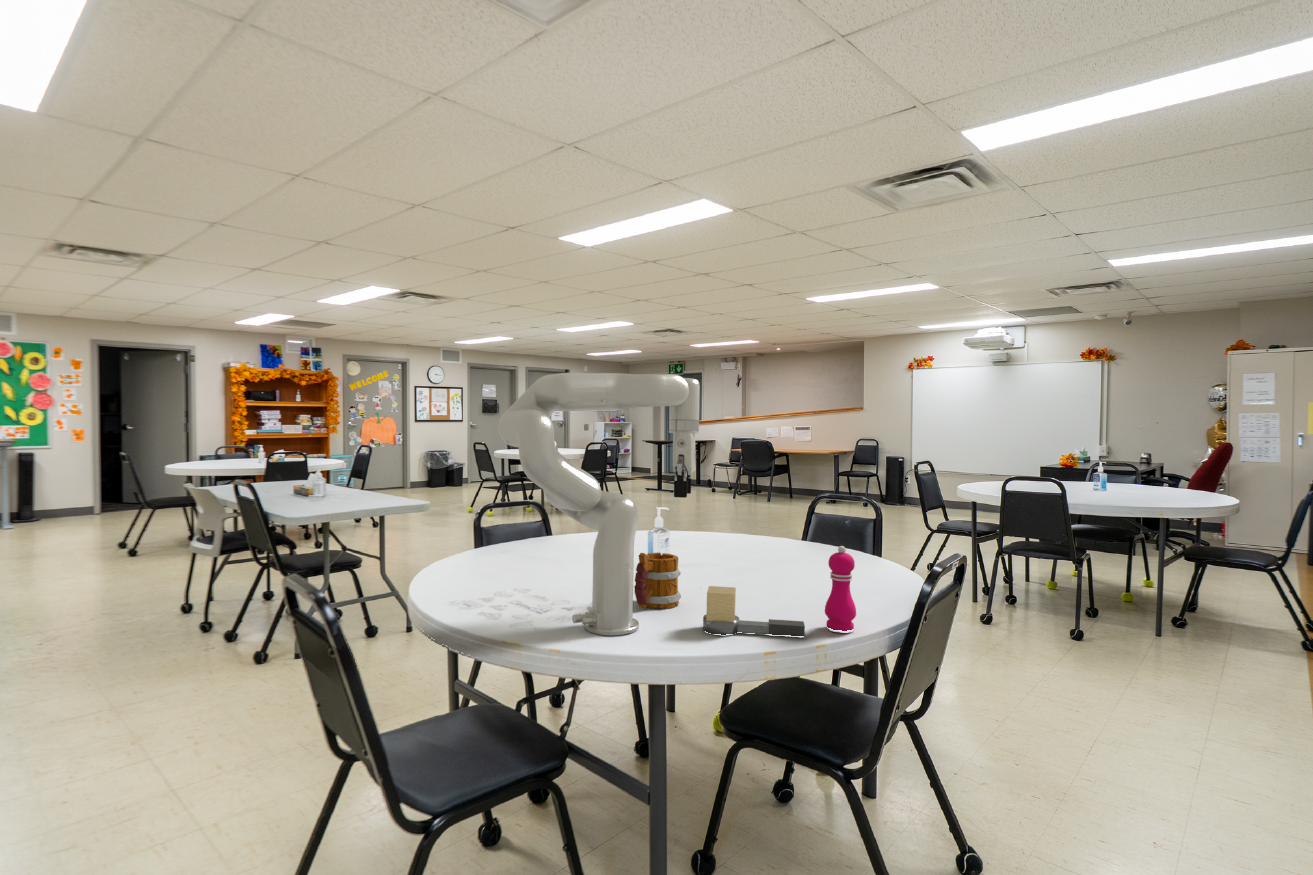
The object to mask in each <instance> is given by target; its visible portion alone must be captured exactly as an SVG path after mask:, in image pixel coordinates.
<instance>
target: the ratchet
mask: <svg viewBox="0 0 1313 875" xmlns="http://www.w3.org/2000/svg"><path fill="white" fill-rule="evenodd" d="M706 615H707V613H706V614H704V615H703V618H702V627H703V628H702V631H703V630H704V631H706V632H708V633H711V634H721V635H726V634H735V633H737V632H742V633H755V634H772V635H791V636H805V632H806V631H805V628H806V627H805V622H804V621H802V620H801V621H800V620H790V619H789V620H788V619H786V620H785V619H772V618H770V619H769V618H768V621H756V620H741V619H740V617H739V616H738V615H736V614H735V621H734V623H733V622H717V621H706ZM704 631H703V632H704ZM805 637H806V636H805Z"/></svg>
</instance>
